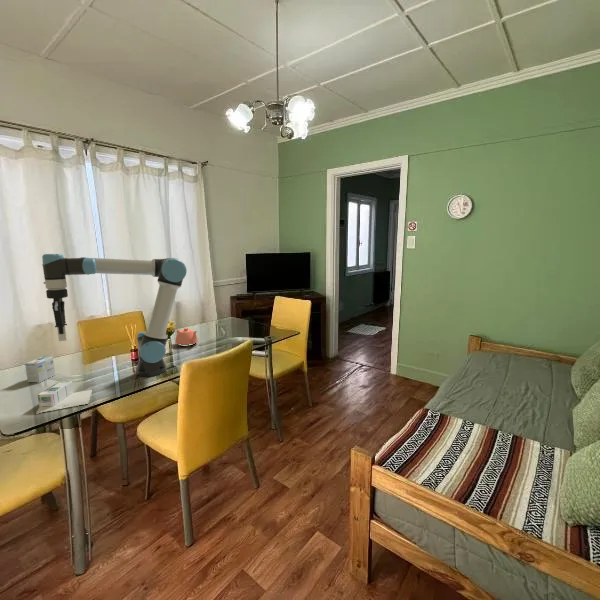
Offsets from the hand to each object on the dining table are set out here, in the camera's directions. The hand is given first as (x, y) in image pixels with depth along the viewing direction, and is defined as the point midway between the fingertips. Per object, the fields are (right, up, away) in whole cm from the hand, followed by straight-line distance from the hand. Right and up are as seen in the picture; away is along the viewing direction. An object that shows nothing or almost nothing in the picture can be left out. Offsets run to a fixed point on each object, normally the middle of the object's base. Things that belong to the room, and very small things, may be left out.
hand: (62, 340), depth 146 cm
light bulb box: (-28, -24, +24) cm, 44 cm away
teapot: (+27, -14, +85) cm, 90 cm away
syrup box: (-2, -23, +5) cm, 23 cm away
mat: (+3, -27, -3) cm, 27 cm away
